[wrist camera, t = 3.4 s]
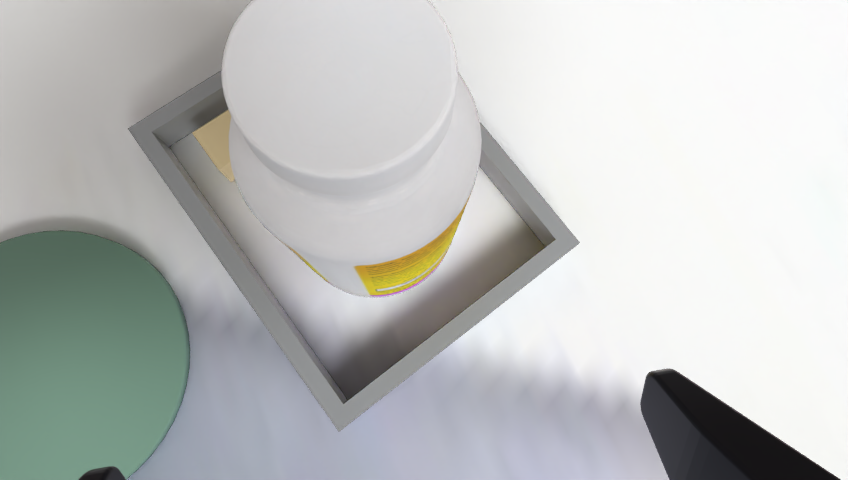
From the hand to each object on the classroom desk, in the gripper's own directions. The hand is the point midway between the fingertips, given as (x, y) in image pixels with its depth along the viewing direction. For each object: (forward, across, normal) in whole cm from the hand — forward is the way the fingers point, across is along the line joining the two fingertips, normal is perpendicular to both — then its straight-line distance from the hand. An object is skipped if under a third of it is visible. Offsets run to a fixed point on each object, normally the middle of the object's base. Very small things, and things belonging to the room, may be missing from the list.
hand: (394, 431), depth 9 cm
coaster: (+11, +14, +7) cm, 19 cm away
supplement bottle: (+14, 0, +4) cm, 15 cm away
